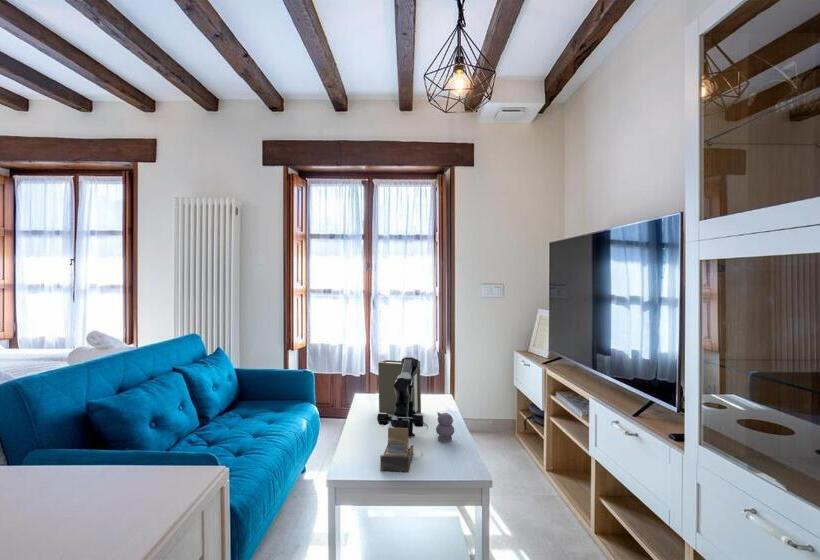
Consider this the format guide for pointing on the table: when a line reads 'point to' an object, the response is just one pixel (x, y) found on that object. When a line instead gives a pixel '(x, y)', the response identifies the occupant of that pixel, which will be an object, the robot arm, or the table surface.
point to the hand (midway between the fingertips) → (398, 439)
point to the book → (386, 386)
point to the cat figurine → (445, 427)
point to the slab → (397, 442)
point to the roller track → (396, 462)
